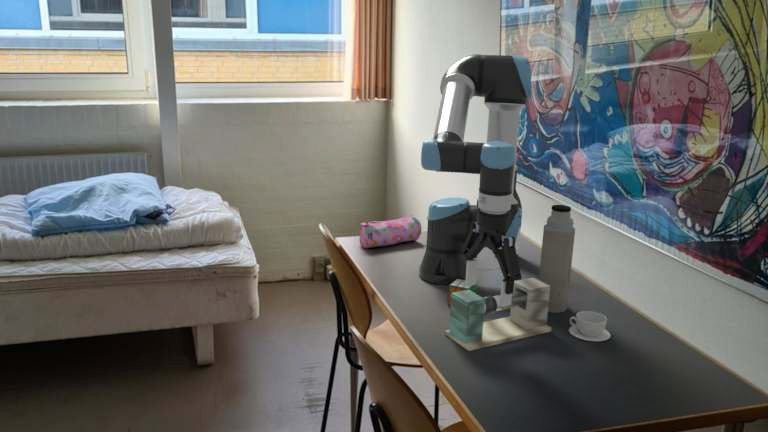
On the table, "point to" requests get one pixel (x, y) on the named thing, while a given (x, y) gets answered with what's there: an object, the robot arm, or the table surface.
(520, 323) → the rail
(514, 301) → the slip tube
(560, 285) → the thermos bottle
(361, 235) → the pencil case
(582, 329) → the teacup
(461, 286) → the puzzle
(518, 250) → the wine bottle
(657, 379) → the table surface
